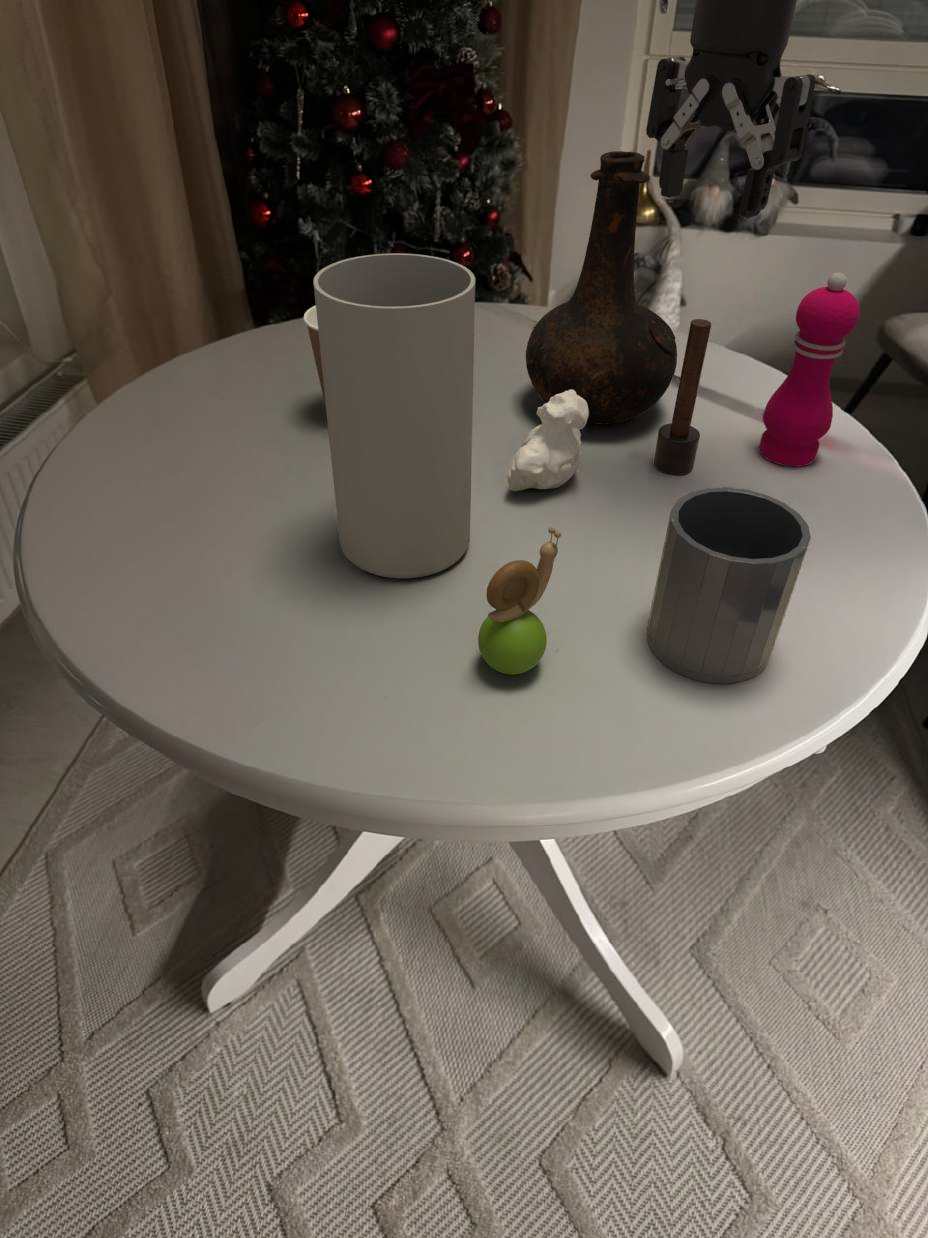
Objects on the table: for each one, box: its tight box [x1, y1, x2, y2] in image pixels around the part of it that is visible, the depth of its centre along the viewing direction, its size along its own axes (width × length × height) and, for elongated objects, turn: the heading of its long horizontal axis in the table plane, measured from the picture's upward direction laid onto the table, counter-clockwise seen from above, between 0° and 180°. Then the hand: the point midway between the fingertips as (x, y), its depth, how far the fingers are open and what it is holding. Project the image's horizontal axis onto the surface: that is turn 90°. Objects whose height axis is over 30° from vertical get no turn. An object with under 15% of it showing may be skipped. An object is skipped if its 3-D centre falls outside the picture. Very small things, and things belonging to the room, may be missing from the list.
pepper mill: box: [758, 272, 861, 467], centre depth 90 cm, size 7×7×20 cm
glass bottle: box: [525, 150, 678, 425], centre depth 95 cm, size 18×18×28 cm
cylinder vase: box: [313, 253, 476, 579], centre depth 73 cm, size 12×12×25 cm
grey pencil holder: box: [646, 486, 812, 685], centre depth 67 cm, size 10×10×12 cm
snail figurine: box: [477, 526, 562, 675], centre depth 65 cm, size 5×6×12 cm
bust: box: [506, 389, 589, 492], centre depth 88 cm, size 12×8×11 cm
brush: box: [652, 318, 712, 476], centre depth 89 cm, size 4×4×16 cm
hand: (708, 205), depth 75 cm, fingers open, 8 cm apart
